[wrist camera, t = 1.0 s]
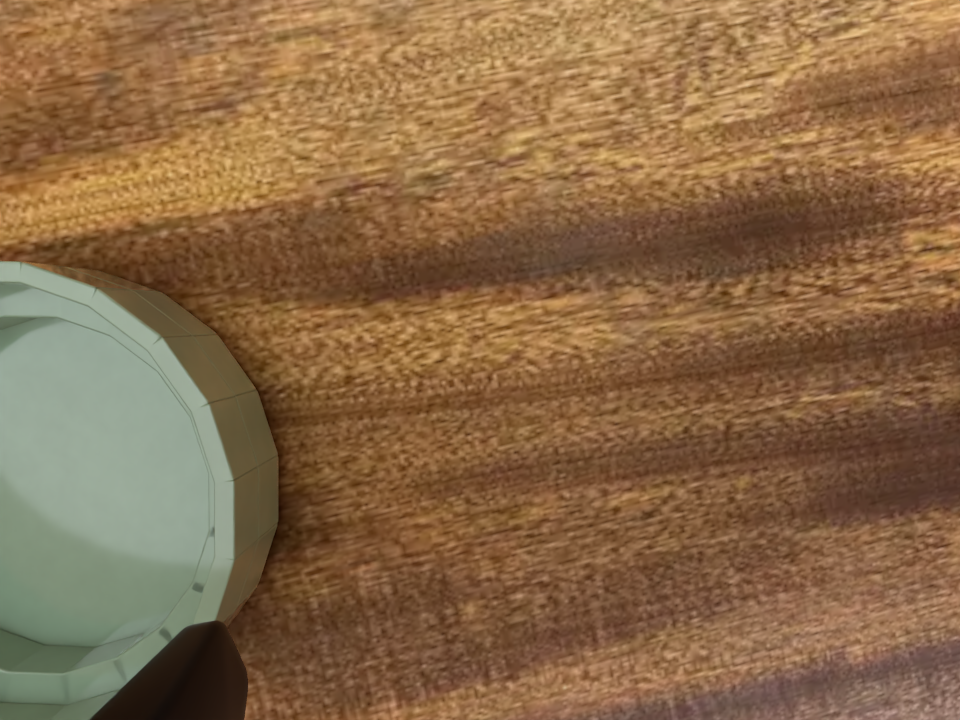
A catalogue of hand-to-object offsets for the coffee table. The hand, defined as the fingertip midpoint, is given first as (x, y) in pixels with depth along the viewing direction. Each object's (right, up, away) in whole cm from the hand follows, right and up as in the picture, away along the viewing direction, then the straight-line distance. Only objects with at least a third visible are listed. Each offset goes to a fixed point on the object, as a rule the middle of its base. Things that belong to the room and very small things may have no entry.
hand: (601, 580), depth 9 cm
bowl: (-15, -2, +17) cm, 23 cm away
